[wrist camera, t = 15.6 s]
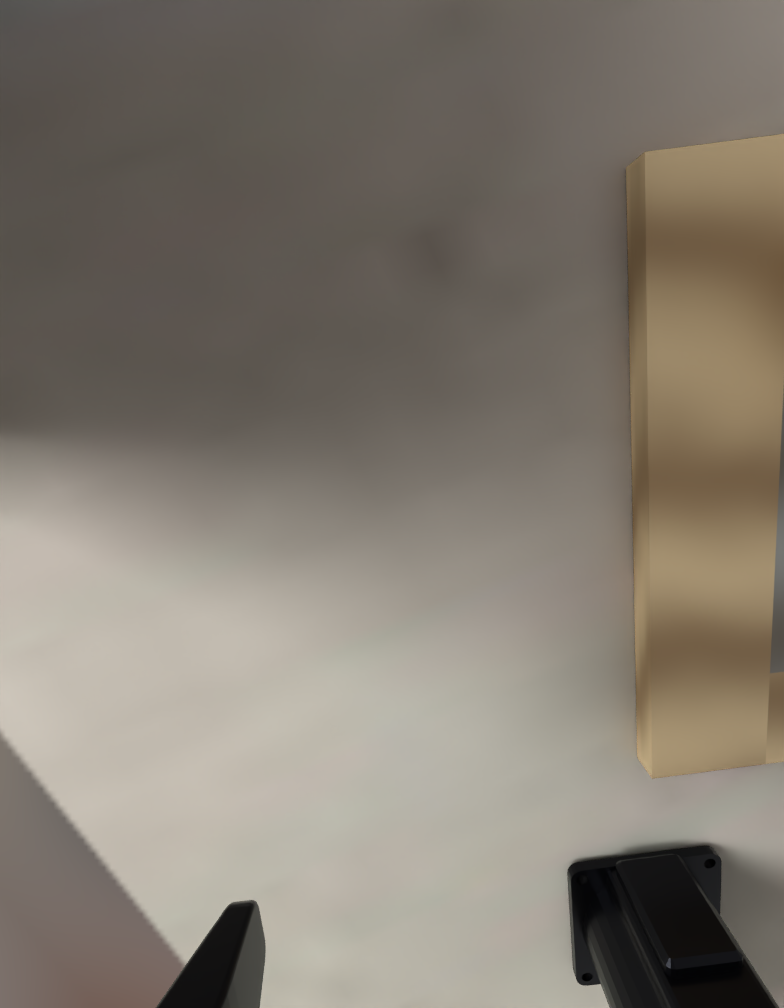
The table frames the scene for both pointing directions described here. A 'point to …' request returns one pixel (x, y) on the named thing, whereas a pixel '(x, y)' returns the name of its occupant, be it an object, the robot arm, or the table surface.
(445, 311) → the table surface
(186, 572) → the table surface
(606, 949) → the robot arm
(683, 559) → the board
